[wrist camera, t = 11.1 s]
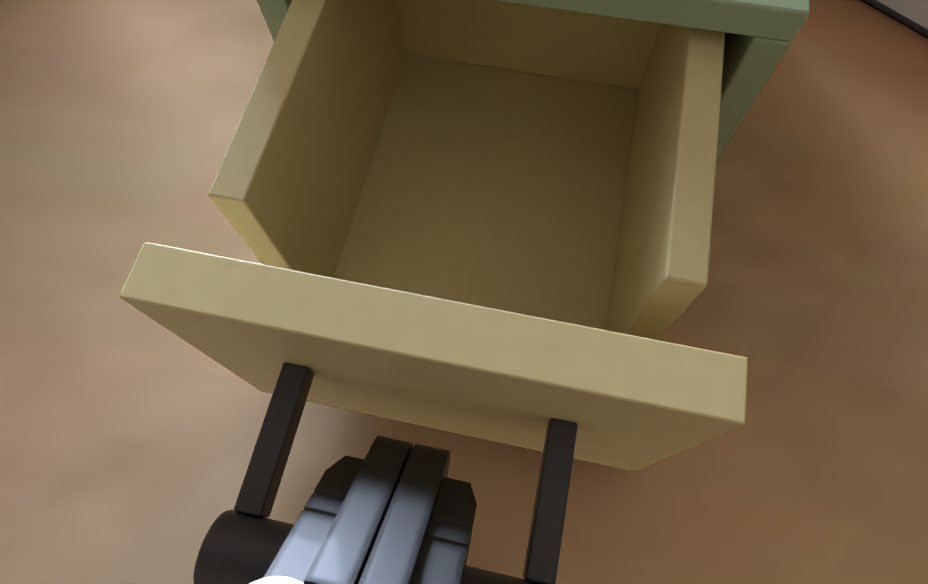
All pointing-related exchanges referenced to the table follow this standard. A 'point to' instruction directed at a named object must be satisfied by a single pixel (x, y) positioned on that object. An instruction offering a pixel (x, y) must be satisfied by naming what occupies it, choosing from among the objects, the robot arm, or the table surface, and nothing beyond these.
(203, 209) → the table surface
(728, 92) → the cabinet
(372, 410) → the drawer
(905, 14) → the notebook
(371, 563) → the robot arm
